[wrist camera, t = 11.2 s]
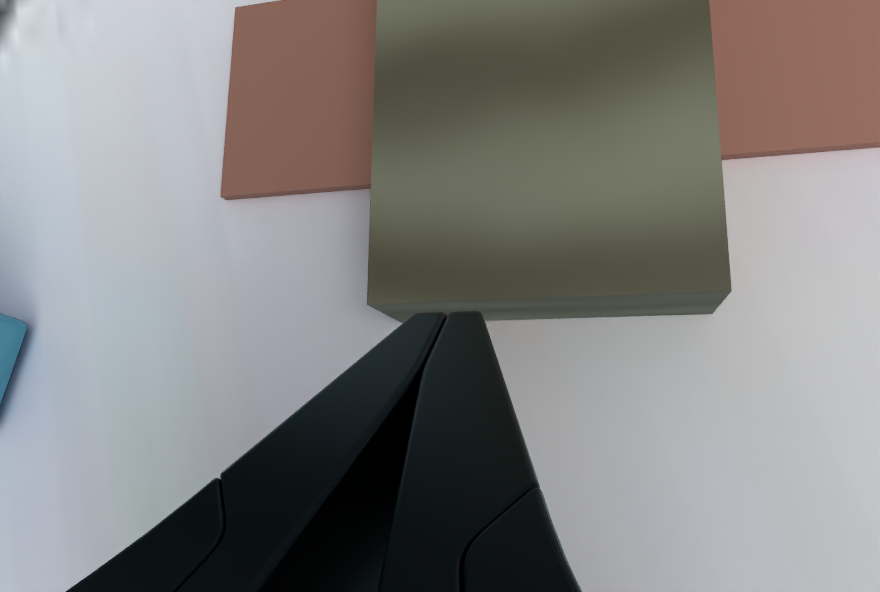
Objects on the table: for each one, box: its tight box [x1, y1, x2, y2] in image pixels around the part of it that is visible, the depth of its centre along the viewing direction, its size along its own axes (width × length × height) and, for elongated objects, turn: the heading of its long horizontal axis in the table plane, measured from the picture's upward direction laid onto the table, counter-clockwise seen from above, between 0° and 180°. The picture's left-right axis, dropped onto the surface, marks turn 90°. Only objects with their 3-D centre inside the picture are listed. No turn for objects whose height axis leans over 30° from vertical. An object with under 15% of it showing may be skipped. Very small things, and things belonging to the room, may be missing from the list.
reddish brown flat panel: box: [221, 0, 880, 200], centre depth 24 cm, size 8×24×1 cm, turn 89°
